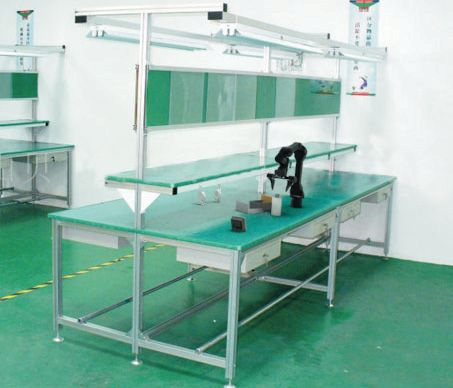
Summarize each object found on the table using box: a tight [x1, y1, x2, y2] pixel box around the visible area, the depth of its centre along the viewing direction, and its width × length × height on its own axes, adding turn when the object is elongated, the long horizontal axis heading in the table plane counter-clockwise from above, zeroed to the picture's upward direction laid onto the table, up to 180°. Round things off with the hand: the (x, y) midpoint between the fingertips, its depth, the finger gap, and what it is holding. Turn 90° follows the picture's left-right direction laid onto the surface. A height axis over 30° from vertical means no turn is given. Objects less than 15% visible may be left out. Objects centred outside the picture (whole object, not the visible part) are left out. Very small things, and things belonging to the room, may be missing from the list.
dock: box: [235, 199, 265, 215], centre depth 417 cm, size 13×13×6 cm
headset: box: [197, 183, 222, 206], centre depth 435 cm, size 20×7×18 cm, turn 138°
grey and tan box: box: [248, 193, 273, 212], centre depth 422 cm, size 11×12×8 cm
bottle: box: [270, 193, 283, 217], centre depth 409 cm, size 6×6×13 cm
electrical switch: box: [230, 214, 247, 232], centre depth 361 cm, size 8×5×8 cm, turn 60°
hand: (279, 190), depth 409 cm, fingers open, 9 cm apart
